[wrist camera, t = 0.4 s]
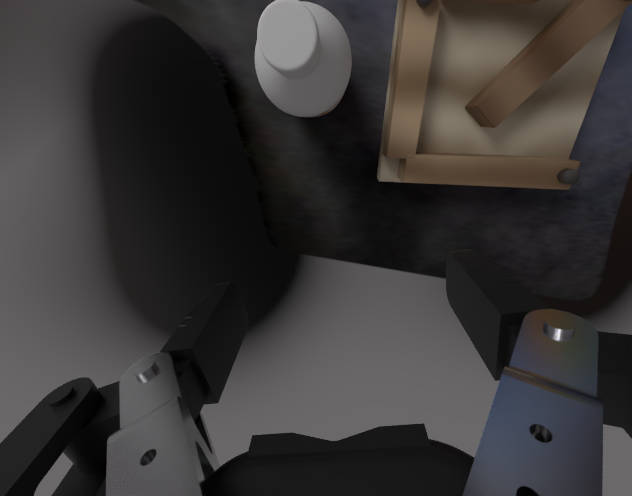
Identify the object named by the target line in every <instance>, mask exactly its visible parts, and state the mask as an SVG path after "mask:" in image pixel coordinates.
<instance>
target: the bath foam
mask: <svg viewBox="0 0 632 496" xmlns="http://www.w3.org/2000/svg"><path fill="white" fill-rule="evenodd" d="M255 67H256V72H257V76H258V79H259V82H260V85H261V87H262V89H263V91H264V92H265V94H266V95H267V97H268V98H269V99H270V100H271V102H272V103H273V104H274V105H275V106H276V107H278V108H279V109H280V110H282V111H284V112H285V113H287V114H290V115H293V116H297V117H318V116H322V115H325V114H327V113H329V112H330V111H331V110H333V109H334V108H335V107H336V106H337V105H338V103H339V102H340V100H341V99H342V97H343V95H344V92H345V90H346V88H347V86H348V83H349V80H350V76H351V70H352V53H351V47H350V43H349V40H348V37H347V35H346V33H345V31H344V29H343V27H342V25H341V24H340V22H339V21H338V20H337V19H336V18H335V17H334V16H333V15H332V14H331V13H330V12H329V11H327V10H326V9H324V8H323V7H321V6H319V5H317V4H314V3H310V2H300V1H298V0H276V1H274V2H272V3H271V4H270V5H269V6H268V7H267V8H266V9H265V10H264V12H263V13H262V15H261V17H260V20H259V23H258V29H257V42H256V48H255Z"/></svg>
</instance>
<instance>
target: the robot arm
mask: <svg viewBox="0 0 632 496" xmlns="http://www.w3.org/2000/svg"><path fill="white" fill-rule="evenodd" d="M446 291H447V297H448V300H449V303H450V305H451V307H452V309H453V310H454V312H455V314H456V316H457V317H458V319H459V321H460V322H461V324H462V326H463V327H464V329H465V331H466V333H467V334H468V336H469V338H470V339H471V341H472V342H473V344H474V346H475V348H476V349H477V351H478V353H479V354H480V356H481V358H482V359H483V361H484V363H485V364H486V366H487V368H488V370H489V371H490V373H491V375H492V376H493V378H494V379H495V380H500V382H499V385H498V388H497V391H496V394H495V397H494V400H493V404H492V406H491V410H490V412H489V416H488V419H487V422H486V425H485V428H484V431H483V434H482V437H481V440H480V443H479V446H478V449H477V452H476V456H475V458H474V457H472V456H470V455H469V454H467V453H465V452H463V451H461V450H459V449H457V448H455V447H453V446H450V445H448V444H445V443H442V442H439V441H435V440H431V439H428V436H427V432H426V429H425V425H424V424H411V425H397V426H383V427H377V428H374V429H371V430H368V431H365V432H362V433H359V434H356V435H353V436H351V437H348V438H345V439H342V440H339V441H328V440H324V439H319V438H314V437H310V436H305V435H301V434H296V433H280V434H267V435H266V434H265V435H253V436H252V439H251V443H250V447H249V451H247V452H245V453H243V454H241V455H239V456H236V457H234V458H233V459H231V460H229V461H228V462H226V463H225V464H223V465H222V466H221V467H220V465H219V463H218V460H217V457H216V454H215V451H214V448H213V446H212V442H211V439H210V437H209V433H208V430H207V427H206V424H205V421H204V419H203V416H202V414H201V413H200V411H201V409H202V407H203V404H214V403H218V402H219V399H220V397H221V394H222V391H223V389H224V387H225V384H226V382H227V379H228V377H229V374H230V372H231V369H232V366H233V364H234V361H235V359H236V356H237V354H238V351H239V349H240V346H241V344H242V341H243V339H244V336H245V334H246V331H247V328H248V317H247V313H246V310H245V307H244V305H243V302H242V299H241V296H240V294H239V291H238V288H237V286H236V284H235V283H233V282H231V283H224V284H217V285H214V286H213V287H212V288H211V289H210V291H209V292H208V294H207V295H206V297H205V298H204V299H202V300H201V301H199V302H198V303H197V304H196V305H194V306H193V307H192V308H191V310H190V311H189V312H188V314H187V315H186V316H185V319H183V321H182V322H181V323H180V326H179V327H178V328H177V329H176V330H175V332H174V333H173V334H172V336H171V337H170V339H169V340H168V342H167V343H166V344H165V346H164V347H163V348H162V350H161V351H160V352H159V353H154V354H151V355H148V356H146V357H144V358H142V359H140V360H139V361H137V362H136V363H134V364H133V365H132V366H131V367H130V368H128V369H127V371H126V372H125V373H124V374H123V376H122V377H121V379H120V381H118V382H116V383H113V384H110V385H107V386H104V387H102V388H98V389H97V387H96V386H95V384H94V383H93V382H92V380H90V379H89V378H78V379H75V380H72V381H70V382H67V383H66V384H63V385H62V386H60V387H58V388H57V389H55V390H54V391H52V392H51V393H50V394H48V395H47V396H46V397H45V398H44V399H43V400H42V401H41V402H40V403H39V404H38V405H37V406H36V407H35V408H34V409H33V410H32V411H31V412H30V413H29V414H28V415H27V416H26V417H25V419H23V420H22V422H21V423H20V424H19V425H18V426H17V427H16V428H15V429H14V430H13V431H12V432H11V433H10V434H9V435H8V436H7V437H6V438H5V439H4V440H3V442H1V443H0V496H34V493H35V490H36V488H37V486H38V485H39V483H40V482H41V480H42V479H43V477H44V476H45V475H46V474H47V472H48V471H49V470H50V468H51V467H52V466H53V464H54V463H55V461H56V460H57V459H58V458H59V456H60V455H61V454H62V452H64V454H65V455H66V456H67V457H68V458H69V459H70V460H71V461H72V463H73V465H72V467H71V468H70V470H69V471H68V473H67V474H66V476H65V477H64V479H63V480H62V482H61V483H60V484H59V486H58V487H57V489H56V490H55V492H54V493H53V495H52V496H602V479H603V476H602V474H603V472H602V471H603V424H606V425H611V426H616V427H621V428H623V429H624V430H625V431H626V432H627V433H628V434H629V436H630V437H631V438H632V335H627V334H617V333H607V332H599V331H597V330H596V329H595V328H594V327H593V326H592V325H591V324H590V323H589V322H587V321H586V320H584V319H582V318H581V317H578V316H576V315H574V314H571V313H568V312H564V311H560V310H553V309H549V308H548V307H547V306H546V305H545V304H544V303H543V302H542V301H540V300H539V299H538V298H537V297H536V296H535V295H534V294H533V293H532V292H531V291H530V290H529V289H528V288H526V287H525V286H524V285H522V284H521V282H520V281H519V280H518V279H517V278H516V277H513V275H512V274H511V273H510V272H509V271H508V270H507V269H506V268H505V267H503V266H501V265H499V264H497V263H494V262H492V261H490V260H488V261H483V260H482V259H481V258H480V257H479V256H478V255H477V254H476V253H475V252H474V251H473V250H471V249H466V250H459V251H452V252H448V253H447V255H446Z"/></svg>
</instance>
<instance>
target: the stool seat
mask: <svg viewBox="0 0 632 496" xmlns="http://www.w3.org/2000/svg"><path fill="white" fill-rule="evenodd" d="M571 1H572V0H398V3H397V12H396V20H395V29H394V37H393V46H392V54H391V62H390V71H389V79H388V88H387V96H386V105H385V113H384V122H383V130H382V139H381V147H380V155H379V164H378V172H377V179H378V180H379V181H383V182H405V183H428V184H450V185H473V186H495V187H518V188H540V189H566V190H570V187H571V185H572V184H574V183H575V182H577V181H578V179H579V178H580V173H579V171H577V169H578V167H579V164H580V161H575V160H569V156H570V154H571V151H572V148H573V146H574V143H575V140H576V138H577V135H578V132H579V130H580V127H581V124H582V122H583V119H584V116H585V114H586V111H587V108H588V106H589V103H590V100H591V98H592V95H593V93H594V90H595V87H596V85H597V82H598V79H599V77H600V74H601V71H602V69H603V66H604V63H605V61H606V58H607V55H608V53H609V50H610V47H611V45H612V42H613V40H614V37H615V34H616V32H617V29H618V26H619V24H620V21H621V18H622V16H623V13H624V10H625V9H624V10H623V11H622V12H621V13H620V14H619V15H618V16H617V17H616V18H614V19H613V20H612V21H611V22H610V23H609V24H608V25H607V26H606V27H605V28H604V29H602V30H601V31H600V32H599V33H598V34H597V35H596V36H595V37H594V38H593V39H592V40H590V41H589V42H588V43H587V44H586V45H585V46H584V47H583V48H582V49H581V50H580V51H578V52H577V53H576V54H575V55H574V56H573V57H572V58H571V59H570V60H569V61H568V62H566V63H565V64H564V65H563V66H562V67H561V68H560V69H559V70H558V71H557V72H556V73H554V74H553V75H552V76H551V77H550V78H549V79H548V80H547V81H546V82H545V83H544V84H542V85H541V86H540V87H539V88H538V89H537V90H536V91H535V92H534V93H533V94H532V95H530V96H529V97H528V98H527V99H526V100H525V101H524V102H523V103H522V104H521V105H520V106H518V107H517V108H516V109H515V110H514V111H513V112H512V113H511V114H510V115H509V116H508V117H506V118H505V119H504V120H503V121H502V122H501V123H500V124H499V125H498V126H497V127H496V128H491V127H481V126H480V125H479V124H478V123H477V122H476V120H475V119H474V118H473V117H472V116H471V114H470V113H469V112H468V111H467V110H466V109H465V106H466V105H467V104H468V103H469V102H470V101H471V100H472V99H473V98H474V97H475V96H476V95H477V94H478V93H479V92H480V91H481V90H482V89H483V88H484V87H485V86H486V85H487V84H488V83H489V82H490V81H491V80H492V79H493V78H494V77H495V76H496V75H497V74H498V73H499V72H500V71H501V70H502V69H503V68H504V67H505V66H506V65H507V64H508V63H509V62H510V61H511V60H512V59H513V58H514V57H516V56H517V55H518V54H519V53H520V52H521V51H522V50H523V49H524V48H525V47H526V46H527V45H528V44H529V43H530V42H531V41H532V40H533V39H534V38H535V37H536V36H537V35H538V34H539V33H540V32H541V31H542V30H543V29H544V28H545V27H546V26H547V25H548V24H549V23H550V22H551V21H552V20H553V19H554V18H555V17H556V16H557V15H558V14H559V13H560V12H561V11H562V10H563V9H564V8H565V7H566V6H567V5H568V4H569V3H570V2H571Z"/></svg>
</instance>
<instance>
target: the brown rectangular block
mask: <svg viewBox="0 0 632 496" xmlns="http://www.w3.org/2000/svg"><path fill="white" fill-rule="evenodd" d="M631 3H632V0H572V1H571V2H570V3H569V4H568V5H567V6H566V7H565V8H564V9H563V10H562V11H561V12H560V13H559V14H558V15H557V16H556V17H555V18H554V19H553V20H552V21H551V22H550V23H549V24H548V25H547V26H546V27H545V28H544V29H543V30H542V31H541V32H540V33H539V34H538V35H537V36H536V37H535V38H534V39H533V40H532V41H531V42H530V43H529V44H528V45H527V46H526V47H525V48H524V49H523V50H522V51H521V52H520V53H519V54H518V55H517V56H516V57H514V58H513V59H512V60H511V61H510V62H509V63H508V64H507V65H506V66H505V67H504V68H503V69H502V70H501V71H500V72H499V73H498V74H497V75H496V76H495V77H494V78H493V79H492V80H491V81H490V82H489V83H488V84H487V85H486V86H485V87H484V88H483V89H482V90H481V91H480V92H479V93H478V94H477V95H476V96H475V97H474V98H473V99H472V100H471V101H470V102H469V103H468V104H467V105H466V106H465V109H466V110H467V111H468V112H469V113H470V114H471V116H472V117H473V118H474V119H475V120H476V122H477V123H478V124H479V125H480V126H481V127H491V128H496V127H497V126H498V125H499V124H500V123H501V122H502V121H503V120H504V119H505V118H506V117H508V116H509V115H510V114H511V113H512V112H513V111H514V110H515V109H516V108H517V107H518V106H520V105H521V104H522V103H523V102H524V101H525V100H526V99H527V98H528V97H529V96H530V95H532V94H533V93H534V92H535V91H536V90H537V89H538V88H539V87H540V86H541V85H542V84H544V83H545V82H546V81H547V80H548V79H549V78H550V77H551V76H552V75H553V74H554V73H556V72H557V71H558V70H559V69H560V68H561V67H562V66H563V65H564V64H565V63H566V62H568V61H569V60H570V59H571V58H572V57H573V56H574V55H575V54H576V53H577V52H578V51H580V50H581V49H582V48H583V47H584V46H585V45H586V44H587V43H588V42H589V41H590V40H592V39H593V38H594V37H595V36H596V35H597V34H598V33H599V32H600V31H601V30H602V29H604V28H605V27H606V26H607V25H608V24H609V23H610V22H611V21H612V20H613V19H614V18H616V17H617V16H618V15H619V14H620V13H621V12H622V11H623V10H624V9H625V8H626V7H628V6H629V5H630V4H631Z"/></svg>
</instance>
